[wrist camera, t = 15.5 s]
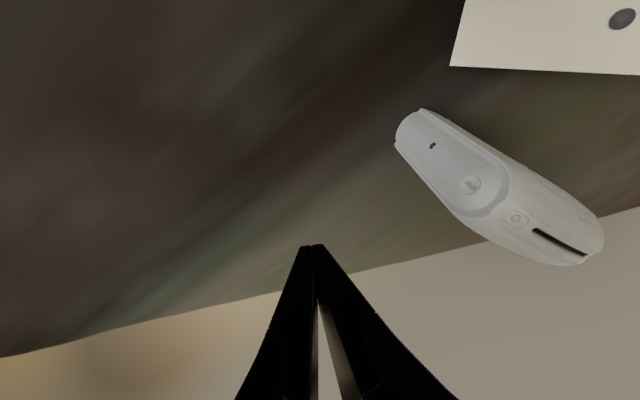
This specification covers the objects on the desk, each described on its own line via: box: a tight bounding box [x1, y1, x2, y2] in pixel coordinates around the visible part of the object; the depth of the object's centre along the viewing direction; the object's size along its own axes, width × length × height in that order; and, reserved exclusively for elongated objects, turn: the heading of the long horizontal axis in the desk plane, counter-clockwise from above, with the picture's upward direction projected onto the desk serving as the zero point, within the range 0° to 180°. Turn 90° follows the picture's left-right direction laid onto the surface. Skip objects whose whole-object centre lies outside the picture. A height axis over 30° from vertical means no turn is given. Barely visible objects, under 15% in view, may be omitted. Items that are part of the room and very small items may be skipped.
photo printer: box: [394, 108, 604, 266], centre depth 18 cm, size 10×4×12 cm, turn 60°
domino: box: [449, 0, 640, 75], centre depth 15 cm, size 5×2×10 cm
